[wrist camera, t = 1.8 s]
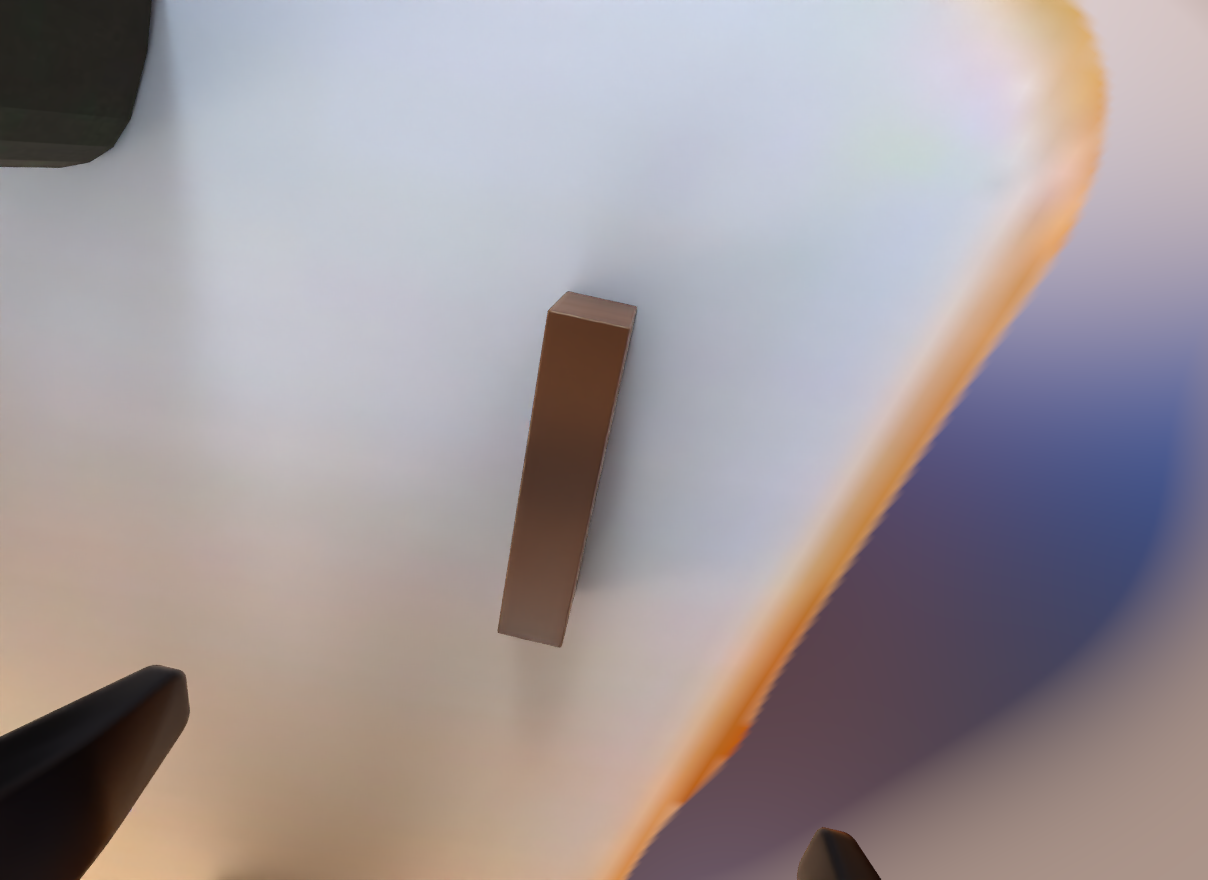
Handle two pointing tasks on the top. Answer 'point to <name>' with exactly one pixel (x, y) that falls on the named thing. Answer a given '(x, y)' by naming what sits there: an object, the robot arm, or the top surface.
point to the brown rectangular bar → (563, 462)
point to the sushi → (68, 77)
